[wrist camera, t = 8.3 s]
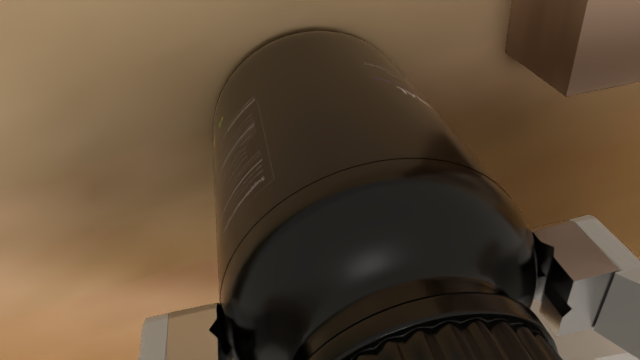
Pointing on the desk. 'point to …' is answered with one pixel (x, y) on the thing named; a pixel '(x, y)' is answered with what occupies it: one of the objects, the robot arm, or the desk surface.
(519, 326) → the supplement bottle
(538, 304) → the cylinder with rectangular tab
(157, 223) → the desk surface
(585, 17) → the walnut riser
